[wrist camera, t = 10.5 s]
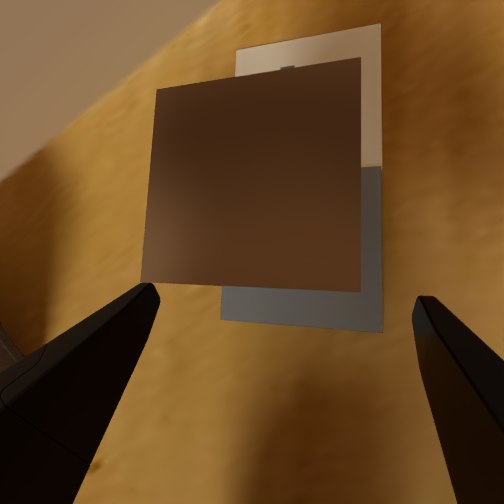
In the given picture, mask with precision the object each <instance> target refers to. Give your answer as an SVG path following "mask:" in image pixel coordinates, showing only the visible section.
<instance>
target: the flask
mask: <svg viewBox="0 0 504 504" xmlns="http://www.w3.org/2000/svg"><path fill="white" fill-rule="evenodd" d="M23 358H25V357H24V356H23V355H22V353H21V352H20V351H19V350H18V348H17V347H16V346H15V344H14V343H13V342H12V340H11V339H10V337H9V336H8V334H7V333H6V331H5V330H4V328H3V327H2V325H1V323H0V372H1V371H3V370H5V369H7V368H8V367H10V366H12V365H13V364H15V363H17V362H18V361H20V360H22V359H23Z"/></svg>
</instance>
